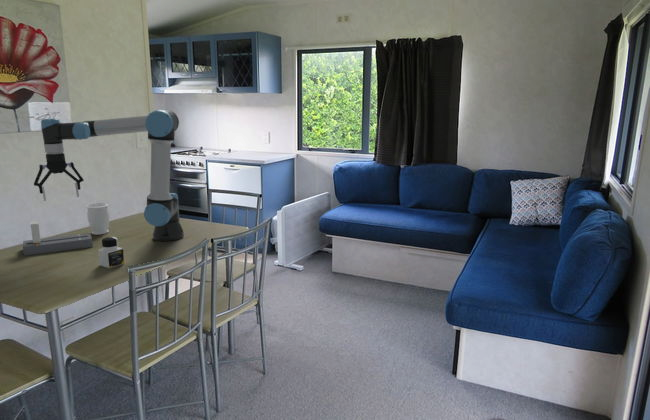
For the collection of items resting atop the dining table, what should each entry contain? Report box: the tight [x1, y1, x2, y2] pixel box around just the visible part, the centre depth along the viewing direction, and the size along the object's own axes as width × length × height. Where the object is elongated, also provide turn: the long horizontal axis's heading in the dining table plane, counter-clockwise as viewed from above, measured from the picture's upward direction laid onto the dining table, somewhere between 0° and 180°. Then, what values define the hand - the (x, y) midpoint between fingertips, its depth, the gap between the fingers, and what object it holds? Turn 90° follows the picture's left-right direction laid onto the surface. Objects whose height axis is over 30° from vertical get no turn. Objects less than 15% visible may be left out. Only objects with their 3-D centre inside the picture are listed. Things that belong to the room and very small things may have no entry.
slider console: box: [22, 232, 94, 256], centre depth 223 cm, size 28×11×4 cm, turn 121°
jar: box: [86, 202, 111, 236], centre depth 247 cm, size 11×10×15 cm
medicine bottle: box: [97, 236, 125, 269], centre depth 200 cm, size 7×7×12 cm
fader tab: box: [30, 220, 42, 243], centre depth 217 cm, size 3×6×11 cm, turn 31°
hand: (61, 198), depth 220 cm, fingers open, 13 cm apart
